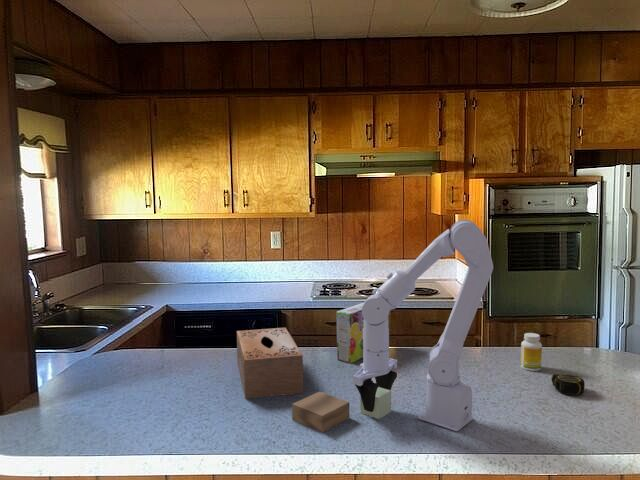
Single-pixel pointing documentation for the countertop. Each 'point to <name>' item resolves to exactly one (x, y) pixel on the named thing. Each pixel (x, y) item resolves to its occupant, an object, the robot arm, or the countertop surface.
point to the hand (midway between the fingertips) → (375, 406)
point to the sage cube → (380, 404)
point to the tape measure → (568, 384)
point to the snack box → (350, 333)
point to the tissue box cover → (269, 362)
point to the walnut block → (320, 411)
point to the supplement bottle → (531, 352)
